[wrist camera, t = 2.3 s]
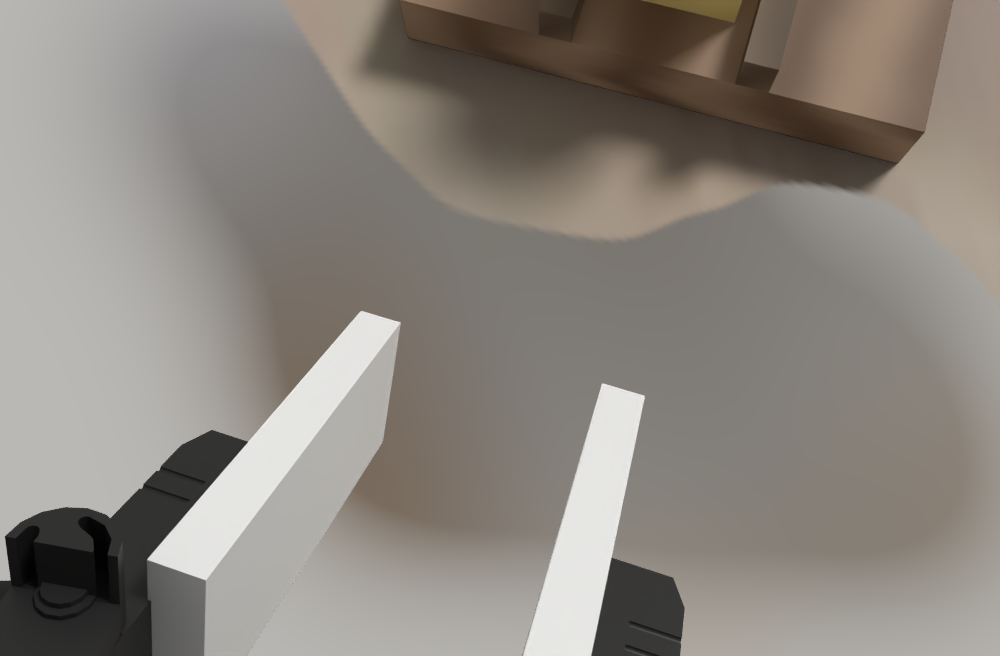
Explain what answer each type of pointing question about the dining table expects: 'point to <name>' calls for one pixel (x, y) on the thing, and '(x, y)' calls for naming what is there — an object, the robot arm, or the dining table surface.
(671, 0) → the ochre block
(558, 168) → the dining table surface
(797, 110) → the trap board
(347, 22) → the dining table surface
